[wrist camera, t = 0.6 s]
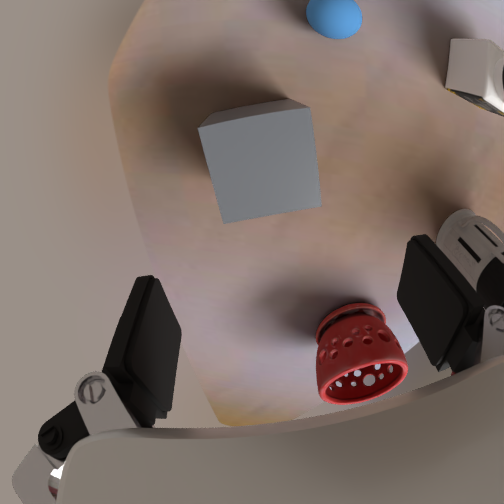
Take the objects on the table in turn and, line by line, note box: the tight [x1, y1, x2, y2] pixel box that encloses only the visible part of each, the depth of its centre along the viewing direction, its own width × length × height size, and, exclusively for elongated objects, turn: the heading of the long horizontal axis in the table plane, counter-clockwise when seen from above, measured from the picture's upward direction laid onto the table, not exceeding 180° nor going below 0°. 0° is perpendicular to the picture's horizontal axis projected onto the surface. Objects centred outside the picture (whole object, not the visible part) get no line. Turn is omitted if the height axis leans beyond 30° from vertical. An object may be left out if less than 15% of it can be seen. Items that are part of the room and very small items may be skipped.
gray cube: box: [198, 99, 322, 224], centre depth 23 cm, size 8×8×9 cm
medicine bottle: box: [445, 39, 504, 117], centre depth 16 cm, size 7×7×12 cm
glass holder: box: [436, 209, 504, 309], centre depth 26 cm, size 9×14×15 cm, turn 40°
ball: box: [306, 0, 362, 39], centre depth 17 cm, size 5×5×5 cm
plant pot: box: [316, 303, 408, 405], centre depth 38 cm, size 13×13×12 cm
